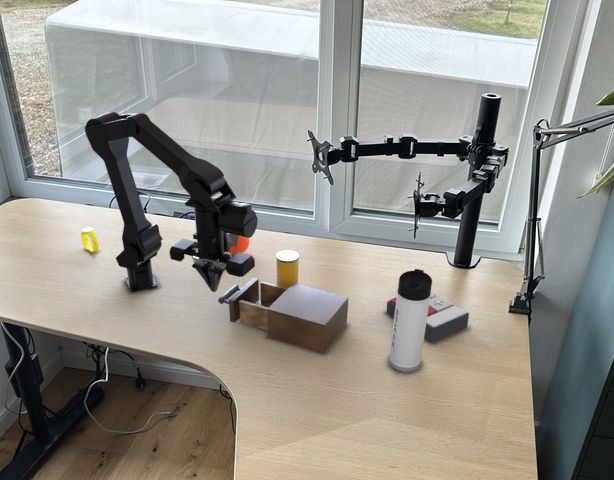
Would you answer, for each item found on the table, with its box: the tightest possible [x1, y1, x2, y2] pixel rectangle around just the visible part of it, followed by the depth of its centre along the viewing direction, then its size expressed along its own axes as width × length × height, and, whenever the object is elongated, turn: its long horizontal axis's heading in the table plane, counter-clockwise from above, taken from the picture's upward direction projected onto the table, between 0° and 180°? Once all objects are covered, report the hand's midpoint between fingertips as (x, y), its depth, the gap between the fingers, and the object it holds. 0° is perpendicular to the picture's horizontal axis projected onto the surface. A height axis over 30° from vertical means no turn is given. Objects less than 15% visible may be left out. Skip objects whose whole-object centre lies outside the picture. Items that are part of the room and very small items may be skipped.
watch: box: [80, 227, 100, 254], centre depth 169 cm, size 6×3×6 cm, turn 45°
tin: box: [275, 249, 300, 288], centre depth 152 cm, size 5×5×10 cm
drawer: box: [217, 277, 288, 331], centre depth 145 cm, size 16×11×6 cm
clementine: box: [228, 236, 250, 255], centre depth 170 cm, size 8×7×7 cm
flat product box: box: [386, 291, 470, 344], centre depth 146 cm, size 11×4×15 cm
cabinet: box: [267, 283, 349, 355], centre depth 140 cm, size 13×12×7 cm
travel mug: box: [388, 268, 433, 373], centre depth 128 cm, size 6×7×20 cm
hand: (214, 290), depth 148 cm, fingers closed
